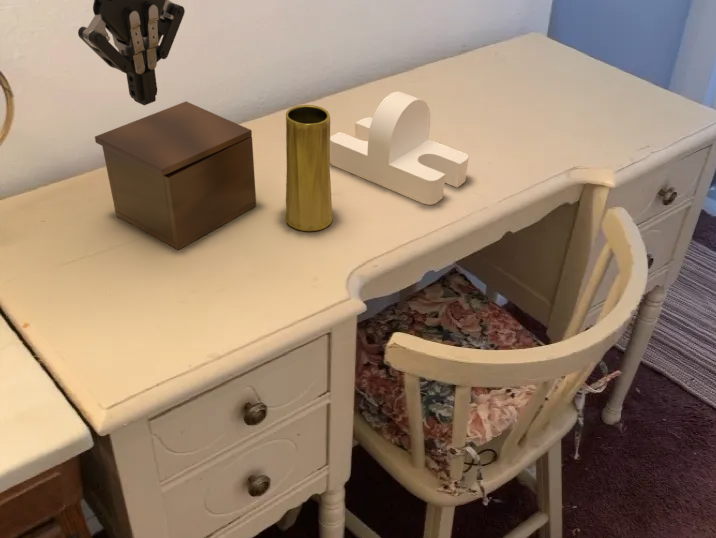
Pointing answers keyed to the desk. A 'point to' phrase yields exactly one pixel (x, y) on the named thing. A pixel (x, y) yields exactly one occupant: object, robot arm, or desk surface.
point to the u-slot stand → (400, 151)
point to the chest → (184, 193)
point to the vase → (308, 168)
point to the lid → (173, 137)
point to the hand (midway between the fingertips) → (144, 101)
